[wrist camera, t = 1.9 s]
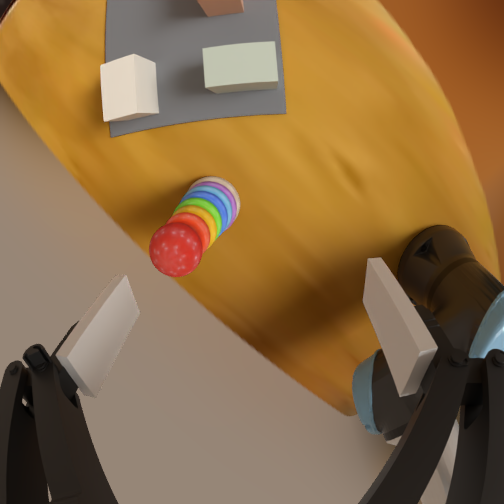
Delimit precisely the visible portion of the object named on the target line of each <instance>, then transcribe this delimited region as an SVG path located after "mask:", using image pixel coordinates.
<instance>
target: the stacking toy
mask: <svg viewBox="0 0 504 504" xmlns="http://www.w3.org/2000/svg"><path fill="white" fill-rule="evenodd" d="M239 210H240V198H239V195H238V193H237V191H236V189H235V188H234V187H233V185H232V184H231V183H229V182H228V181H227V180H225V179H222V178H220V177H215V176H208V177H203V178H201V179H199V180H197V181H195V182H194V183H193V184H192V185H191V186H190V188H189V189H188V191H187V193H186V194H185V195H184V196H183V198H182V200H181V202H180V203H179V205H178V206H177V207H176V209H175V211H174V213H173V215H172V217H171V218H170V219H169V220H168V221H167V223H166V224H165V225H164V226H162V227H161V228H159V229H158V230H157V231H156V232H155V233H154V235H153V237H152V239H151V241H150V246H149V253H150V258H151V261H152V263H153V264H154V266H155V267H156V268H157V269H158V270H159V271H160V272H162V273H163V274H165V275H168V276H171V277H180V276H185V275H187V274H189V273H190V272H192V271H193V270H194V269H195V268H196V267H197V266H198V264H199V262H200V260H201V257H202V254H203V253H204V252H205V251H206V250H207V249H208V248H209V247H210V246H211V245H212V244H213V243H214V241H215V240H216V239H217V238H218V237H219V236H220V235H221V234H222V233H223V231H225V230H227V229H228V228H229V227H230V226H231V225H232V223H233V222H234V221H235V219H236V218H237V216H238V214H239Z"/></svg>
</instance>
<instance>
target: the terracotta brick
mask: <svg viewBox="0 0 504 504" xmlns="http://www.w3.org/2000/svg"><path fill="white" fill-rule="evenodd" d="M197 1H198V3H199V4H200V6H201V7H202V9H203V10H204V12H205V13H206V15H207V16H208V17H211V16H218V15H225V14H233V13H243V12H244V6H243V0H197Z"/></svg>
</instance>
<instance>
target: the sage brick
mask: <svg viewBox="0 0 504 504" xmlns="http://www.w3.org/2000/svg"><path fill="white" fill-rule="evenodd" d="M202 49H203V64H204V78H205V88H207V89H209V90H211V91H212V92H214V93H216V94H220V93H229V92H239V91H252V90H268V89H277V86H278V71H277V60H276V48H275V41H270V42H253V43H241V44H231V45H223V46H215V47H209V48H202Z"/></svg>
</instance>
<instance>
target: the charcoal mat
mask: <svg viewBox="0 0 504 504" xmlns="http://www.w3.org/2000/svg"><path fill="white" fill-rule="evenodd" d="M243 6H244V12H243V13H233V14H225V15H218V16H211V17H208V16H207V15H206V13H205V12H204V10H203V9H202V7H201V6H200V4H199V3H198V1H197V0H107V13H106V63H108V62H111V61H113V60H116V59H119V58H122V57H125V56H128V55H131V54H136V55H138V56H141V57H143V58H146V59H148V60H150V61H152V62H155V63H156V80H157V94H158V106H159V114H154V115H149V116H145V117H140V118H136V119H132V120H123V121H109V123H110V133H111V137H116V136H120V135H124V134H128V133H132V132H137V131H142V130H147V129H152V128H157V127H162V126H168V125H173V124H180V123H186V122H193V121H200V120H208V119H216V118H226V117H236V116H248V115H264V114H286V102H285V88H284V75H283V63H282V52H281V42H280V32H279V23H278V14H277V5H276V0H243ZM270 41H275V48H276V60H277V71H278V86H277V89H268V90H252V91H239V92H229V93H220V94H216V93H214V92H212V91H211V90H209V89H207V88H205V78H204V64H203V49H202V48H209V47H215V46H223V45H231V44H241V43H253V42H270Z"/></svg>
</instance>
